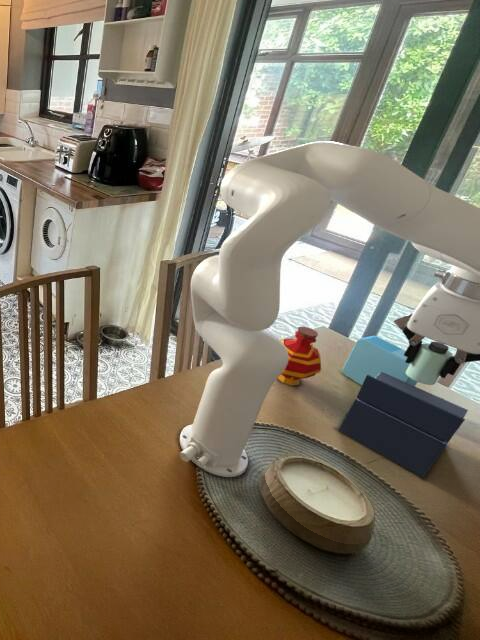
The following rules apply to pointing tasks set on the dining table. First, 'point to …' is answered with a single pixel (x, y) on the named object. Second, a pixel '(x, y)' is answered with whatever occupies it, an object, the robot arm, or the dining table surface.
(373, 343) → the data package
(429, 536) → the dining table surface
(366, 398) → the flap
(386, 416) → the carton
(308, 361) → the potion bottle
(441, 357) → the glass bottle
